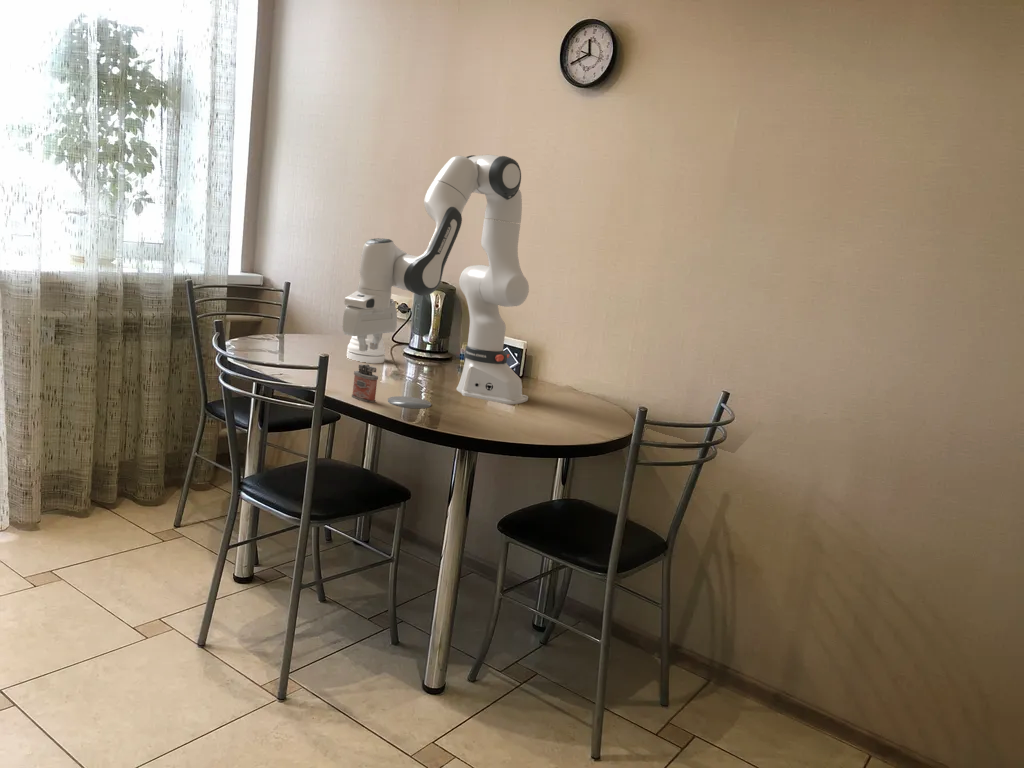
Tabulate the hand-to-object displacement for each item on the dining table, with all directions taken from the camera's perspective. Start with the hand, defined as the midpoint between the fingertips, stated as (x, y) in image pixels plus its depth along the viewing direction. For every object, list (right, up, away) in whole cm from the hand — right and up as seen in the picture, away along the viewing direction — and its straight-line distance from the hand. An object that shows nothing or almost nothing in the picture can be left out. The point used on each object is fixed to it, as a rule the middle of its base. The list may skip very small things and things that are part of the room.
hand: (368, 350), depth 216 cm
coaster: (+10, -15, +6) cm, 19 cm away
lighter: (-2, -14, +3) cm, 14 cm away
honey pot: (-12, -2, +58) cm, 60 cm away
